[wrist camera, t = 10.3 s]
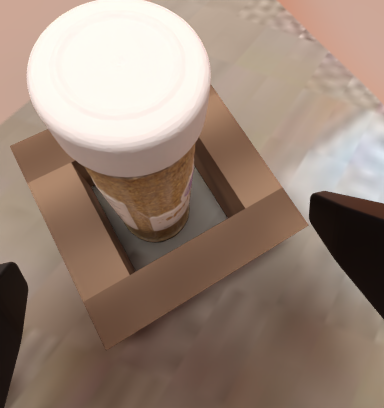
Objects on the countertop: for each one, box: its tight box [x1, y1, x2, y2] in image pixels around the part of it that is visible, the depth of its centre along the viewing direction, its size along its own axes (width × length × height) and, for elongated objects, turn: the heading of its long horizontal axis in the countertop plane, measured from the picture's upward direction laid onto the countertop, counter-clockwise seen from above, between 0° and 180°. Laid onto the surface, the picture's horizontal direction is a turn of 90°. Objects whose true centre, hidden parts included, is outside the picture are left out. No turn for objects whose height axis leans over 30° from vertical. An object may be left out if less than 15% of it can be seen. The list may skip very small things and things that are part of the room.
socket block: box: [10, 84, 308, 350], centre depth 18 cm, size 12×12×4 cm
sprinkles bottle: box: [27, 0, 211, 242], centre depth 13 cm, size 5×5×13 cm
